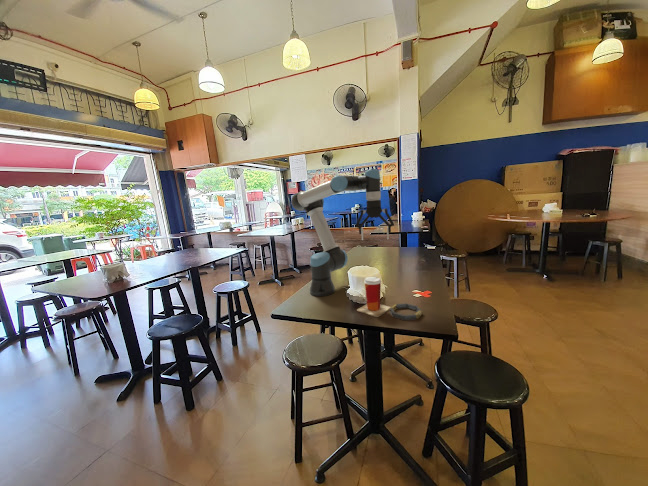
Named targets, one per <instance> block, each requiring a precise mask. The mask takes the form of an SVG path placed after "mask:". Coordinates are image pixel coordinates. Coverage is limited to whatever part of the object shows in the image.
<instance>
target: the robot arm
mask: <svg viewBox="0 0 648 486" xmlns="http://www.w3.org/2000/svg"><path fill="white" fill-rule="evenodd" d="M361 190H365V199H366V200H367V201H366V210H364V209H361V210H360V215H359V218H358V219H357V222H356V224H355V228H356V229H357V228H358V230H359V231H358V234H359V235H361V241H364V227H363V226H364V225H365V223H367V221H368V220H369V218H372V219H373V218H379V219H381V221H383V223H384V224H385V225H386V236H387V237H386V239H387V240H390V238H389V237H390V236H389V235H390V234H391V231H392V229H391V227H394V226H395V223H394V222H393V219H392V218H391V216H390V214H389V212H388V208H383V209H382V200H381V197H382V196H381V173H380V169H368V170H365V172H364V174H363V175H356V176H355V175H335V176H333V177H332V179H330V180H329V181H327V182H324V183H321V184H320V185H317V186H314V187H313V188H310V189H307V190H306V191H303V190H302V191H298V192H297V193H295V194H293V196H292V197H291V202H290V203H291V206H292V207H293V209H294V210H296V211H299V212H306V215H307V216H309V217H310V219H311V221H312V223H313V224H312V225H313V227H314V229H315V232H316V234H317V236H318V239H319V241H320V244H321V246H322V249H323V250H322V251H321V252H317V253H314V254H312V255H311V256H310V258H309V259H310V261H309V262H310V263H309V264H310V273H311V282H310V283H311V284H310V288H309V293H310V294H311V296H315V297H325V296H330V295H332V294H334V293H335V292H336V291H335V290H336V289H335V286H334V283H333V281H332V273H333V272H335V271H338V270H341V269H342V268H344V267H345V266H347V263H348V261H349V259H348V254H347V252H346V251H345V250H343V249H341V247H340V245H338V244H336V241H335V238H334V236H333V234H332V231H331V229H330V226H329V224H328V222H327V219H326V216H325V214H324V212H323V210H324V203H325V200H324V199H325V198H328V197H331V196H333V195H336V194H339V193H342V192H346V191H348V192H349V191H350V192H351V191H353V192H356V191H361ZM382 212H383V213H384V214H385V215H386V217H387V219H388V220H387V219H385V217H384V216H383V215H382ZM365 213H366V214H367V216H366V217H365V218H364V219H363V221H362V218H363V216H364V215H365ZM361 221H362V222H361ZM388 221H389V222H390V223H389V222H388Z"/></svg>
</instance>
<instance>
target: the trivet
mask: <svg viewBox="0 0 648 486" xmlns="http://www.w3.org/2000/svg"><path fill="white" fill-rule="evenodd" d="M390 307H391V306H389V305H388V306H387V305H385V304H381V303H380V309H379V310H377V311H371V310H369V309H368V307H367V303H366V304H364V305H363V306H361V307H359V308H357V309H356V311H357V312H359V313H363V314H365V315H368V316H371V317H375V318H379V317H381V316H382V315H384V314H385V313H386V312H388V311H390Z"/></svg>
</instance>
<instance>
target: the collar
mask: <svg viewBox="0 0 648 486" xmlns="http://www.w3.org/2000/svg"><path fill="white" fill-rule="evenodd" d="M389 307H390V309H389V312H390V314H391V316H392V317H393V318H395V319H398V320H402V321H413V320H417V319H419V318H420V317H422V310H421V309H420V307H418V305H415V304H410V303H406V302H404V303H395V304H393V305H392V306H389ZM397 309H400V310H401V309H408V310H412V311H415V313H414V314H401V313H398V312H396V310H397Z"/></svg>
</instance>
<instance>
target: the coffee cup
mask: <svg viewBox="0 0 648 486" xmlns="http://www.w3.org/2000/svg"><path fill="white" fill-rule="evenodd" d="M363 283H364V288H365V290H364V291H365V299H366V304H367V307H368V309H369V310H371V311H377V310H379V309H380V304H381V286H382V285H381V284H382V281H381V278H380V277H377V276H367V277H365V278H364V282H363Z"/></svg>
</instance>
